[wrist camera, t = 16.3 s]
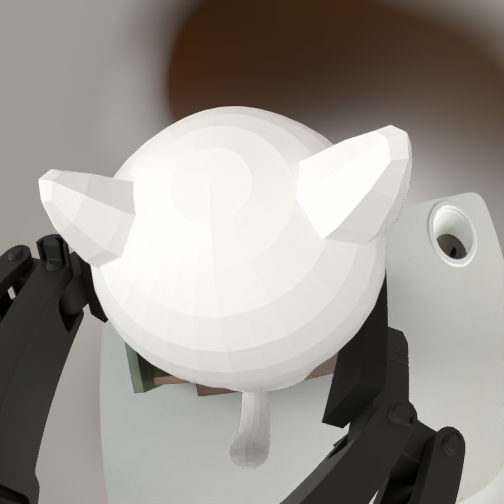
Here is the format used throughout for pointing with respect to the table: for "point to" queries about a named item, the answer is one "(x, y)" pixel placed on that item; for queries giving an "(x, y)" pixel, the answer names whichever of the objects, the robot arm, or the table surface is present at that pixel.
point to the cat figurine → (238, 248)
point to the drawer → (147, 373)
